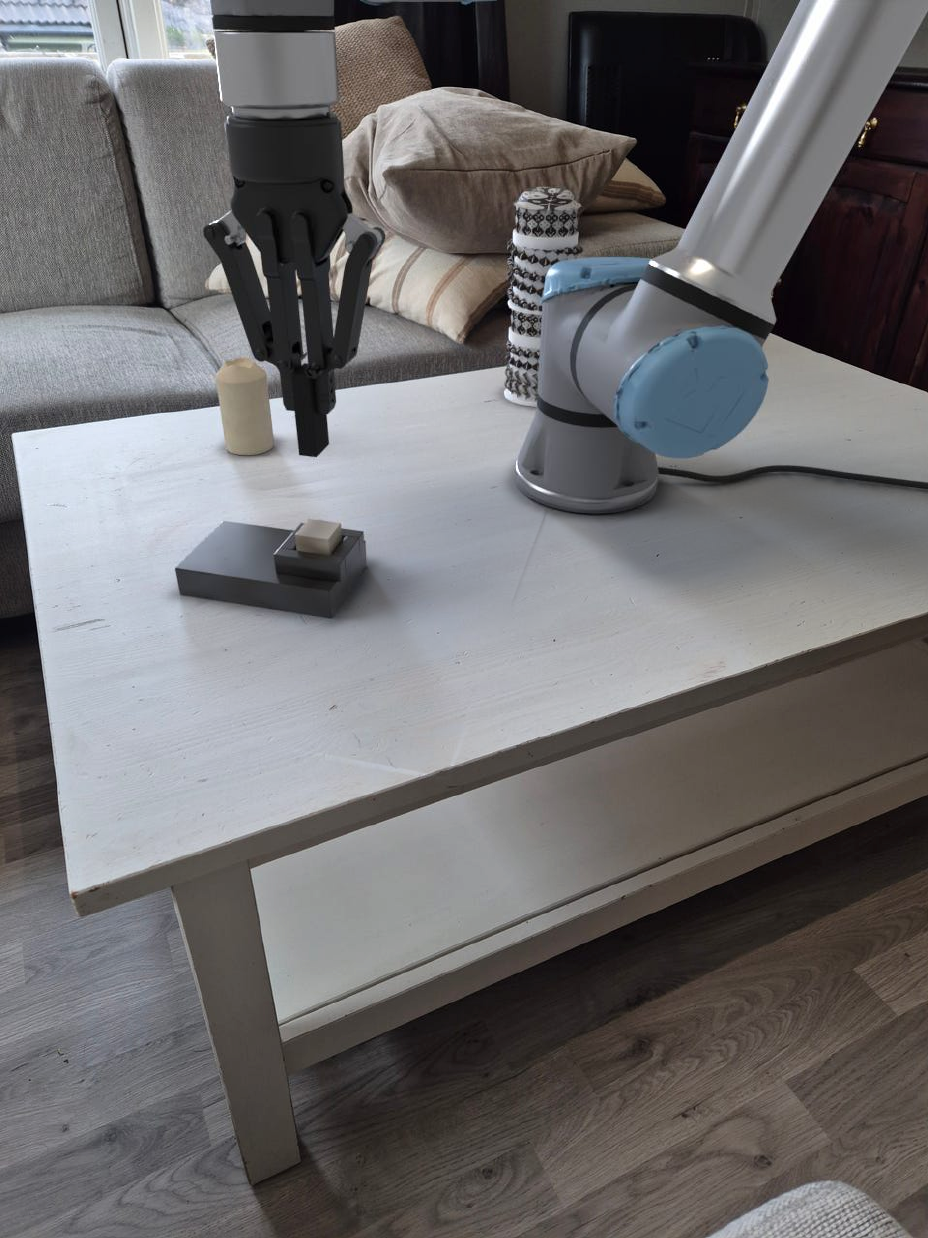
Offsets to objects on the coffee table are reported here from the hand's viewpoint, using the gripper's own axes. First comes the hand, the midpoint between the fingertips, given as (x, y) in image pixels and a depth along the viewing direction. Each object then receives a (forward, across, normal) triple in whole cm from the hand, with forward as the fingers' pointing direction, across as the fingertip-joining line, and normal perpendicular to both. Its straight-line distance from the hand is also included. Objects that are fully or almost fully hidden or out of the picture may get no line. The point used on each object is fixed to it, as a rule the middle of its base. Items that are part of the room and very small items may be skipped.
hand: (314, 449), depth 71 cm
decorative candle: (+14, -9, -52) cm, 55 cm away
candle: (+13, +20, -26) cm, 35 cm away
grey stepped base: (+13, +5, 0) cm, 14 cm away
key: (+9, 0, 0) cm, 9 cm away
